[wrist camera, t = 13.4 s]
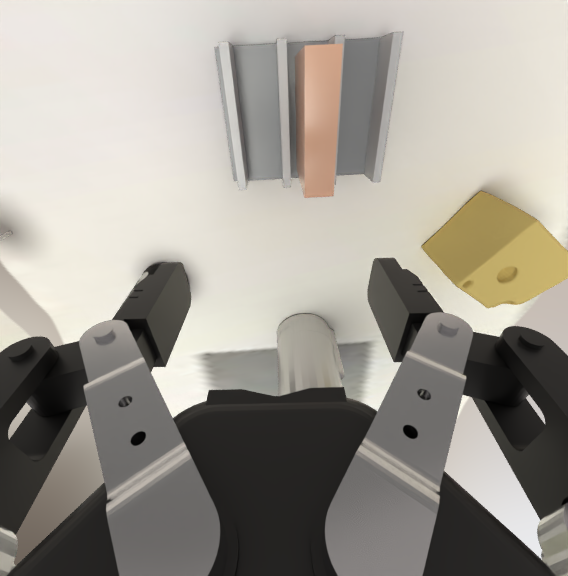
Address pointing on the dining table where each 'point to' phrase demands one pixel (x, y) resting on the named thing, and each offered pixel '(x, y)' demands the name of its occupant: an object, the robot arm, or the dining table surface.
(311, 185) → the peach wooden block
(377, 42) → the dish rack
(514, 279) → the cheese
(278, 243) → the dining table surface
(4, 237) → the lollipop
